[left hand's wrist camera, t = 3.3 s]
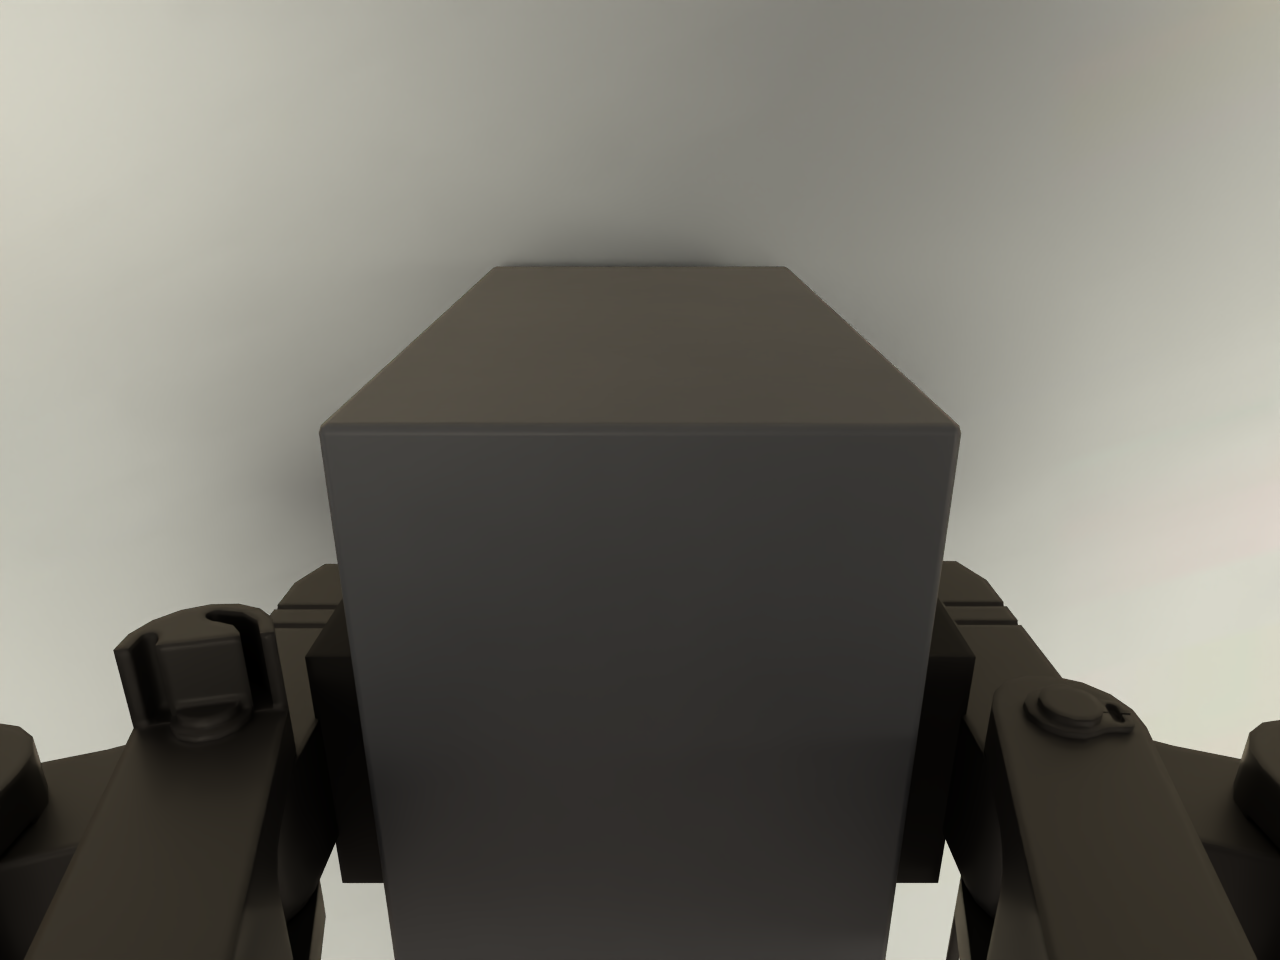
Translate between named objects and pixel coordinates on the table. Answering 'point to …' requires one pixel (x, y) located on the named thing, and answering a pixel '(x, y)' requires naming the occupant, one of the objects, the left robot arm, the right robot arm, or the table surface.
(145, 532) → the table surface
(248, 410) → the table surface
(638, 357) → the bar
